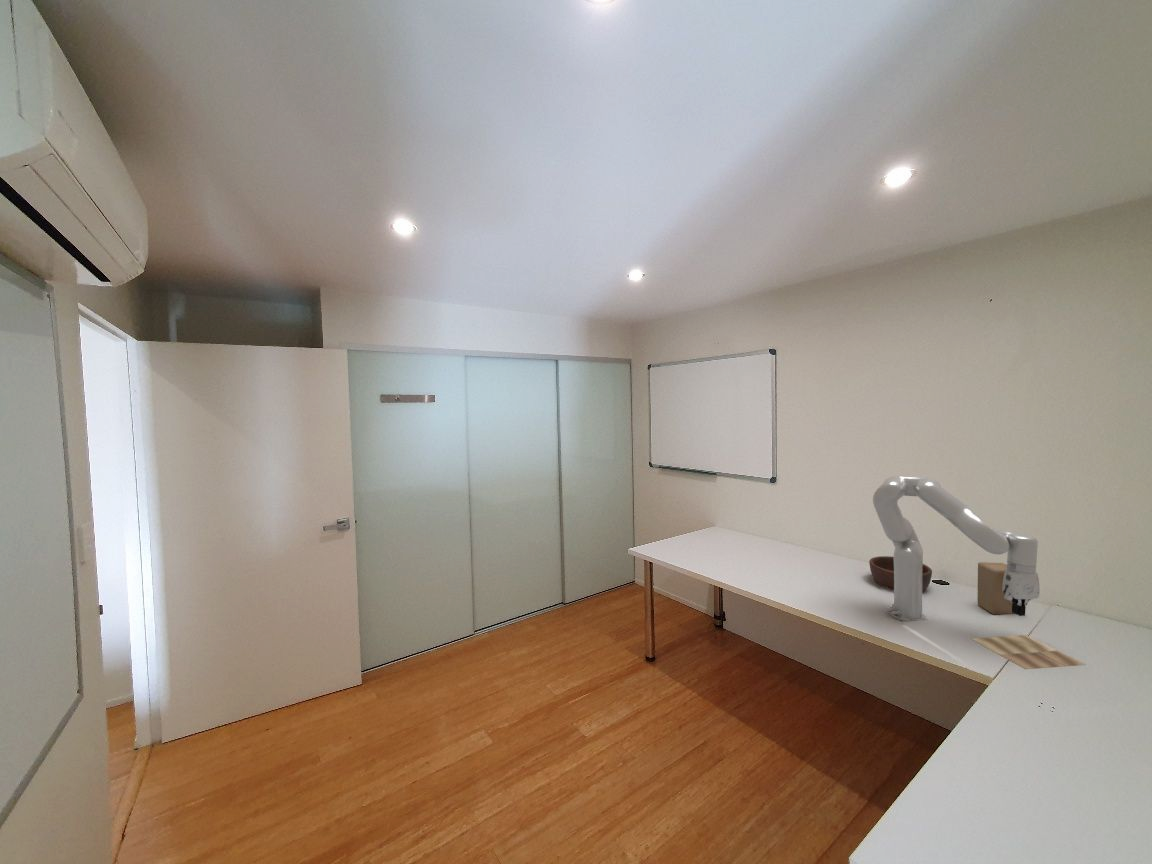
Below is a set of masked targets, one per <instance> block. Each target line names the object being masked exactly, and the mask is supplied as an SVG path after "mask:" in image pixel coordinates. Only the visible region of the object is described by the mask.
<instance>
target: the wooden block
mask: <svg viewBox="0 0 1152 864" xmlns="http://www.w3.org/2000/svg"><path fill="white" fill-rule="evenodd" d="M1006 565H1007V563H1006V564H1005V563H1003V562H984V561H983V562H982V561H980V562H978V563H977V606H979V607H980V608H982V609H984V610H985V611H987V612H989V613H990V614H992V615H993V616H1004V615H1005V616H1006V615H1007V616H1009V615H1016V614H1015V613H1013V612H1012V602H1011V601H1010V600H1007V599H1005V598H1004V596H1005V594H1004V593H1003V591H1002V586H1003V578H1004V574H1005V571H1006V569H1007V567H1006Z"/></svg>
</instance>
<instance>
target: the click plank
mask: <svg viewBox="0 0 1152 864" xmlns="http://www.w3.org/2000/svg"><path fill="white" fill-rule="evenodd" d="M971 640H972V641H974V642H975V643H977V644H978V645H980V646H983V647H985V648H986V649H988V650H990V651H992V652H993V653H995V654H996V655H999V656H1001V655H1008V654H1022V653H1036V652H1050V651H1058V650H1057V649H1055V648H1053V647H1051V646H1050V645H1047V644H1045V643H1043V642H1040V641H1039V640H1037V639H1034V638H1032V637H1031V636H1029V635H1026V634H1021V635H1007V636H1004V635H1003V636H990V637H979V638H978V637H977V638H971Z"/></svg>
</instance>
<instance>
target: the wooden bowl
mask: <svg viewBox="0 0 1152 864" xmlns="http://www.w3.org/2000/svg"><path fill="white" fill-rule="evenodd" d="M868 563H869V568H870V573H871V577H873V579H874V581H875V582H876V583H877V584H878V585H880V586H881V587H884V588H887V589H889V590H893V591H894V556H891V555H890V556H886V555H885V556H875V557H872V558H870V559H869V561H868ZM932 574H933V569H932V568H931V567H929V566H928V565H927V564H925V563H923V566H922V592H924V591H926V589H927V588H929V586H930V583H931V579H932V576H933V575H932Z"/></svg>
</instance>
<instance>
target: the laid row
mask: <svg viewBox="0 0 1152 864" xmlns="http://www.w3.org/2000/svg"><path fill="white" fill-rule="evenodd" d="M1000 656H1001V657H1003V658H1004V659H1006V660H1008V661H1010V662H1011V663H1013V664H1015V665H1017V666H1019V667H1021V668H1023V669H1024V670H1033V669H1045V668H1046V669H1047V668H1059V667H1060V668H1061V667H1072V666H1073V667H1074V666H1086V665H1087V664H1086V663H1084V662H1082V661H1080V660H1078V659H1076V658H1073V657H1072V656H1071V655H1070V656H1069V655H1068V654H1065V653H1063V652H1062V651H1059V650H1057V651H1044V652H1030V653H1016V654H1002V655H1000Z"/></svg>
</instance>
